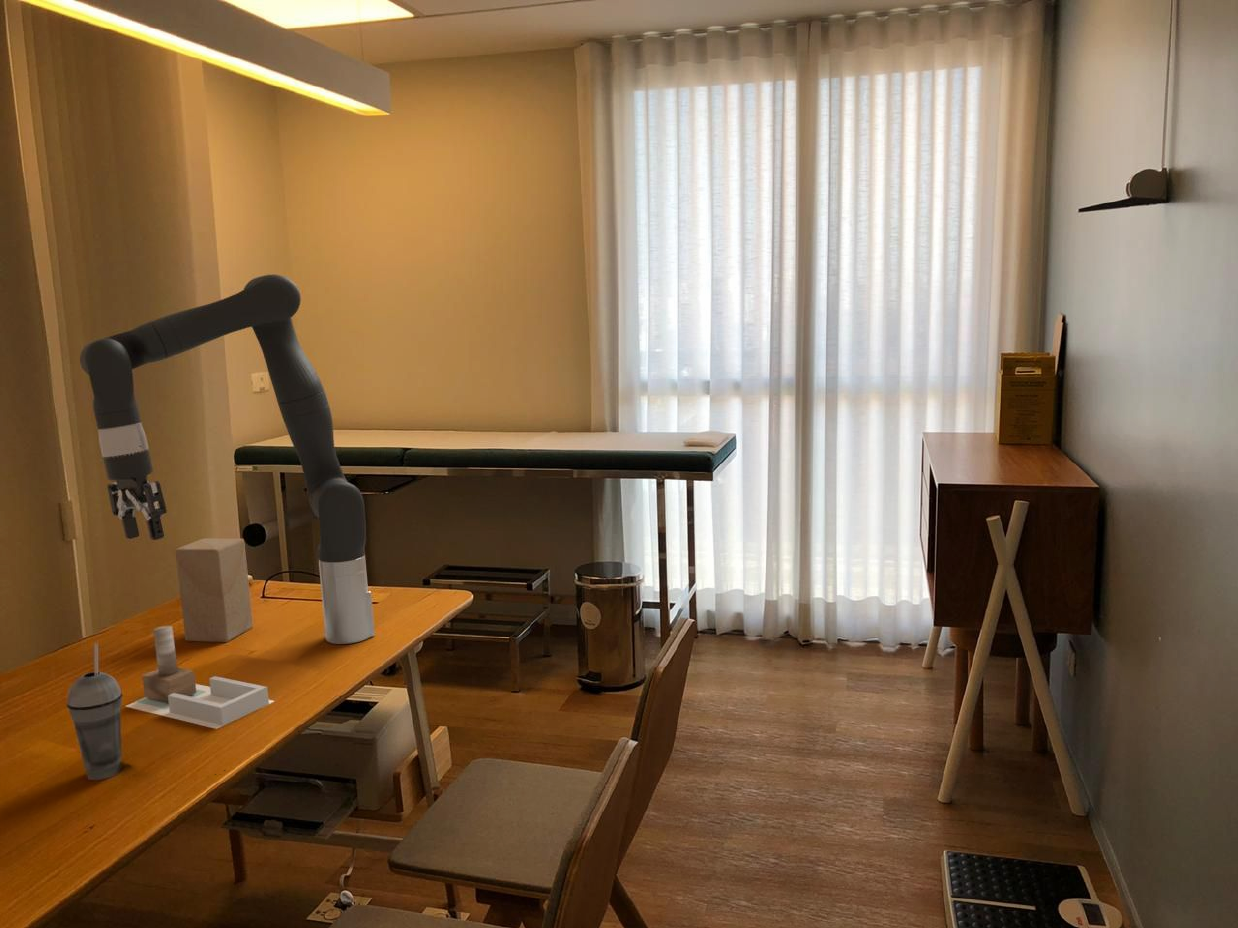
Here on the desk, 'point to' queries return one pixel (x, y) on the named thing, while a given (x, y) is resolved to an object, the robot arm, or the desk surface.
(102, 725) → the beverage cup
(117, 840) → the desk surface
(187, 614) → the wooden block
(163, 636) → the peg with base
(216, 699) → the docking tray
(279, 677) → the desk surface
